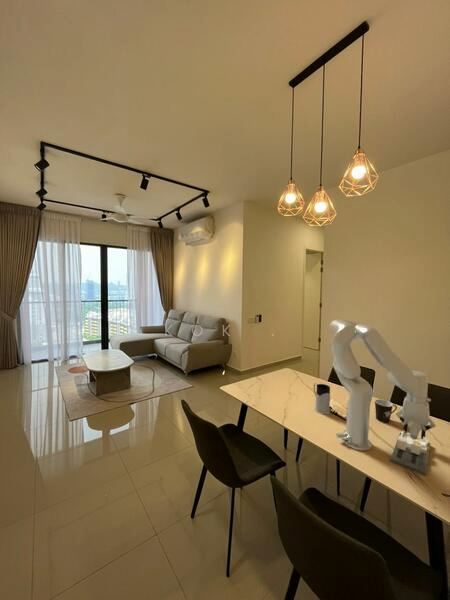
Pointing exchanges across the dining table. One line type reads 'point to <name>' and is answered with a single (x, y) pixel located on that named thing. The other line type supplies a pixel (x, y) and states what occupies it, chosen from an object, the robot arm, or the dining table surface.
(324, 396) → the grey black pitcher
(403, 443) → the toggle
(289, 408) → the dining table surface
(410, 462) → the panel
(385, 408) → the coffee mug
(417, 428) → the lightbulb
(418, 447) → the toggle tagged
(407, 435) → the socket tray
